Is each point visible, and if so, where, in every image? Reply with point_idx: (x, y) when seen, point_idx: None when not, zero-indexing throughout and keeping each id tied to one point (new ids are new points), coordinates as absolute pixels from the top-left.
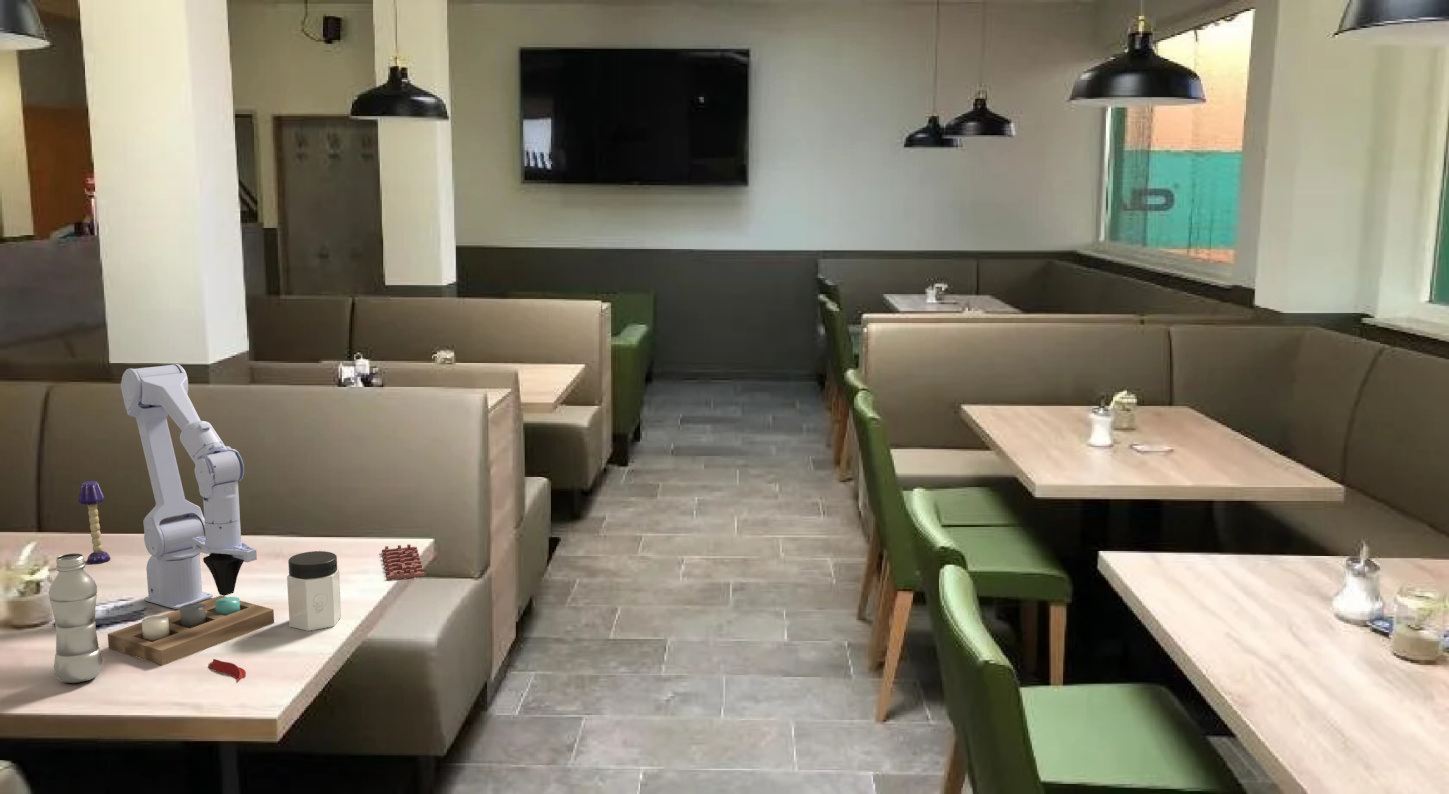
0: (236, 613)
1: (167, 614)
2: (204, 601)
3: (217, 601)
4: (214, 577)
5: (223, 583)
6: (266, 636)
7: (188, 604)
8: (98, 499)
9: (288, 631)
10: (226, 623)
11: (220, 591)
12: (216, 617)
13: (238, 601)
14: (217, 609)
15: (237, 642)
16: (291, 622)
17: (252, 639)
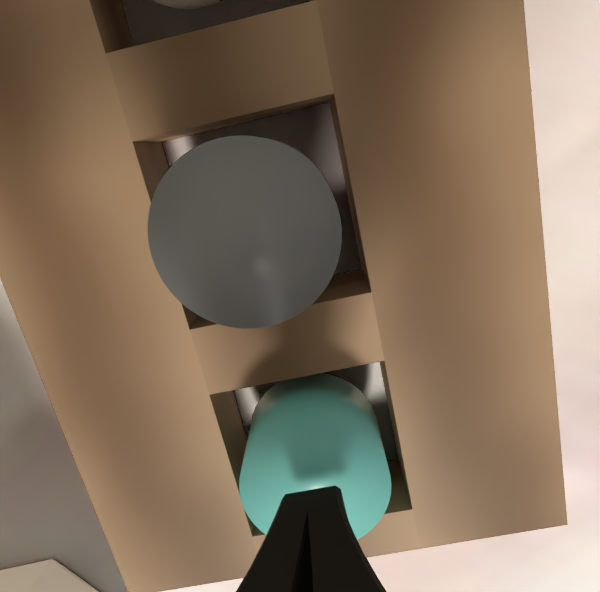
0: (203, 453)
1: (517, 153)
2: (549, 422)
3: (345, 443)
4: (352, 582)
5: (250, 573)
6: (3, 443)
7: (335, 247)
8: None
9: (6, 530)
10: (74, 344)
11: (308, 505)
12: (220, 350)
13: (258, 525)
14: (305, 402)
15: (8, 318)
16: (27, 579)
17: (4, 384)
